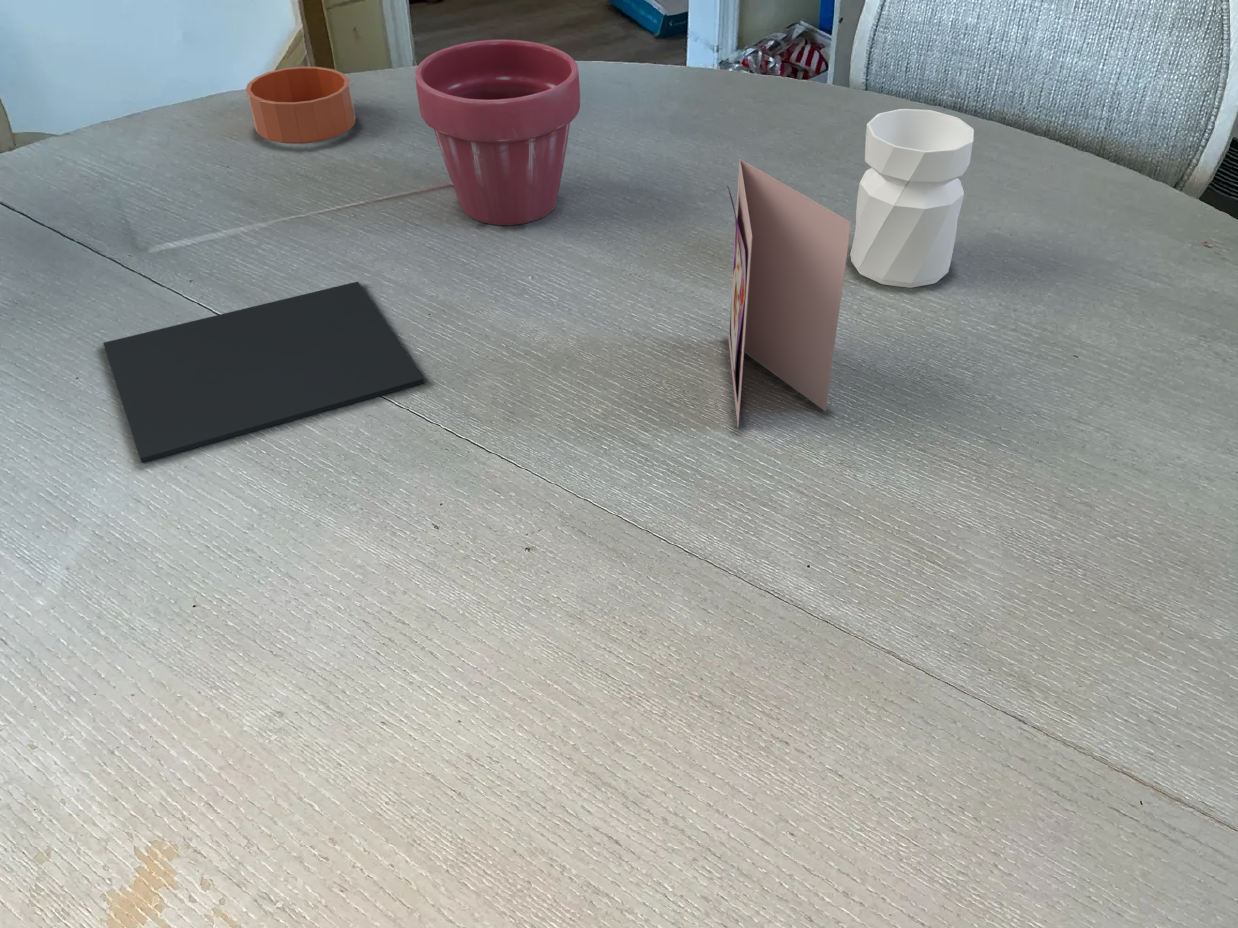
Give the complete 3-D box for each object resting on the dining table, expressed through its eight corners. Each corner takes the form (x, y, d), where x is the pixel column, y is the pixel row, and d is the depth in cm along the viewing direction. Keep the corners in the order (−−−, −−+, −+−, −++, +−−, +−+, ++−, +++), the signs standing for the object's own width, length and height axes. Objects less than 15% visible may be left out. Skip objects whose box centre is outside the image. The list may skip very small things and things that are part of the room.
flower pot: (537, 253, 97) (527, 110, 89) (403, 220, 101) (380, 80, 93) (609, 188, 107) (606, 53, 99) (484, 160, 111) (470, 29, 103)
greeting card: (717, 339, 87) (727, 158, 77) (810, 340, 88) (832, 159, 78) (725, 428, 79) (737, 237, 69) (829, 428, 79) (856, 238, 69)
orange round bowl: (270, 155, 111) (260, 111, 108) (245, 118, 118) (235, 76, 115) (369, 136, 115) (361, 93, 112) (339, 101, 122) (332, 60, 119)
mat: (141, 463, 75) (139, 458, 74) (104, 346, 85) (102, 342, 85) (424, 383, 82) (423, 378, 82) (358, 285, 93) (357, 281, 92)
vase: (969, 273, 96) (999, 140, 88) (888, 297, 93) (911, 160, 85) (908, 230, 102) (930, 101, 94) (829, 251, 98) (845, 119, 91)
